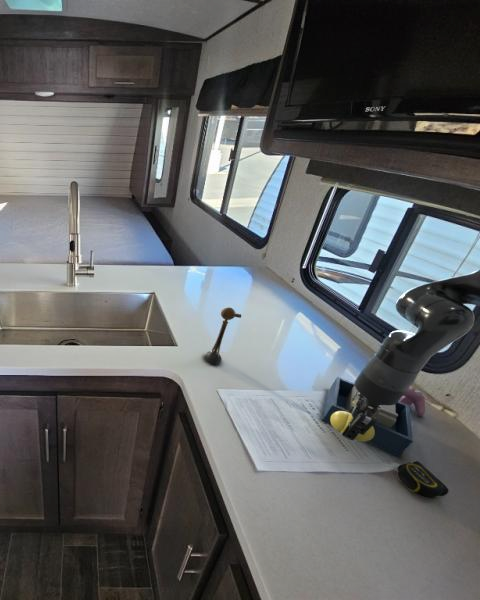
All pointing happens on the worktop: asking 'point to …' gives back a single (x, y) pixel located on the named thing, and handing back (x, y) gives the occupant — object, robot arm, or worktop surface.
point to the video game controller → (414, 400)
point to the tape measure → (421, 480)
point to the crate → (384, 437)
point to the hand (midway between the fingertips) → (348, 428)
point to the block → (385, 414)
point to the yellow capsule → (341, 421)
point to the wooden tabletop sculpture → (220, 337)
